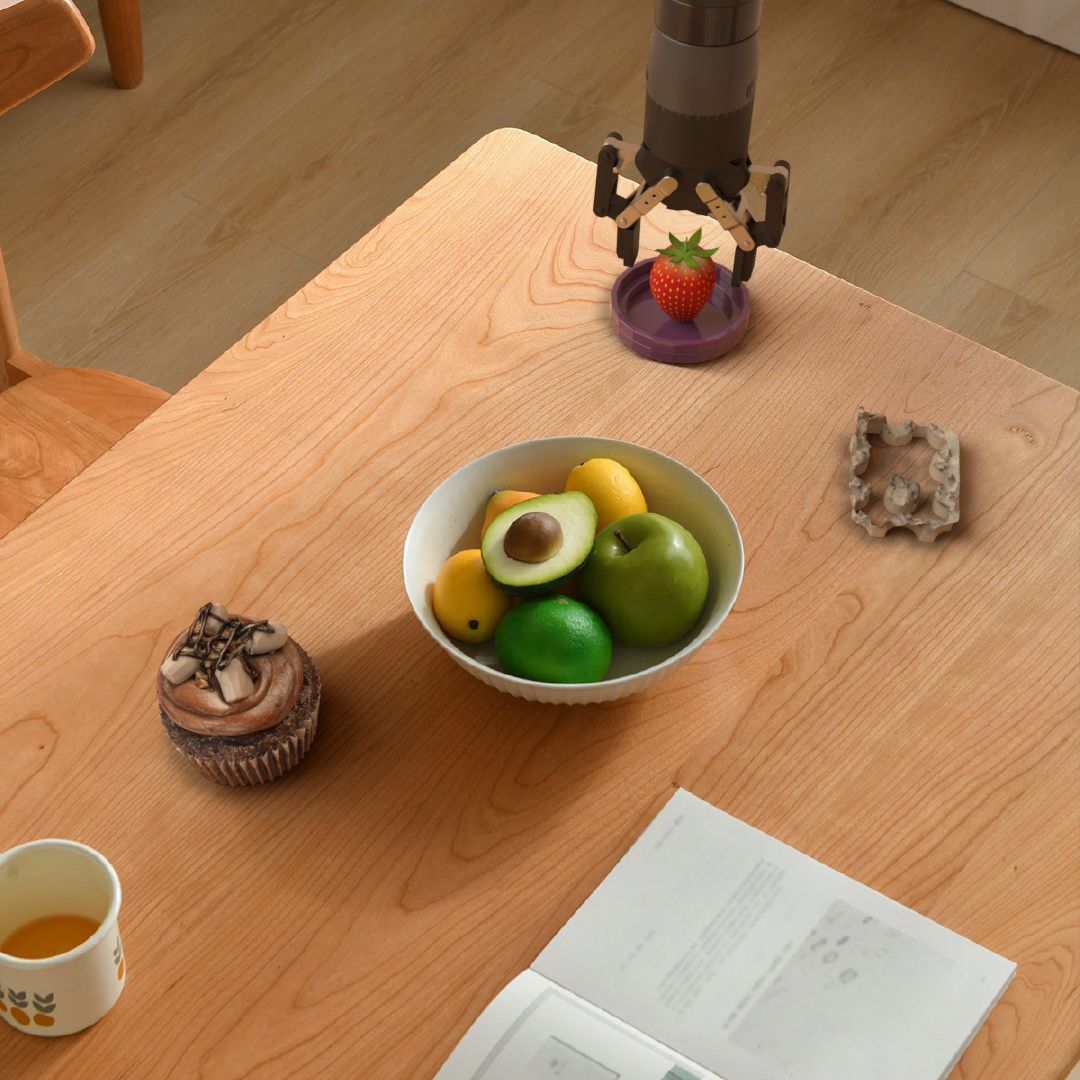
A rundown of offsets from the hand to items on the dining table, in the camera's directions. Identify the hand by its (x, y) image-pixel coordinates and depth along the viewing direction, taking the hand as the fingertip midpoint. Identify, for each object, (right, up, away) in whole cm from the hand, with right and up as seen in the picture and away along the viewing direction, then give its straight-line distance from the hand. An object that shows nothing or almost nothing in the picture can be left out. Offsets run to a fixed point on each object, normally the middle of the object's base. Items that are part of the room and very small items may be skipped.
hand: (683, 270), depth 105 cm
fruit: (0, -3, +4) cm, 5 cm away
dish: (0, -3, +4) cm, 5 cm away
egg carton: (+14, -18, -8) cm, 25 cm away
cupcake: (-29, -33, -21) cm, 49 cm away
